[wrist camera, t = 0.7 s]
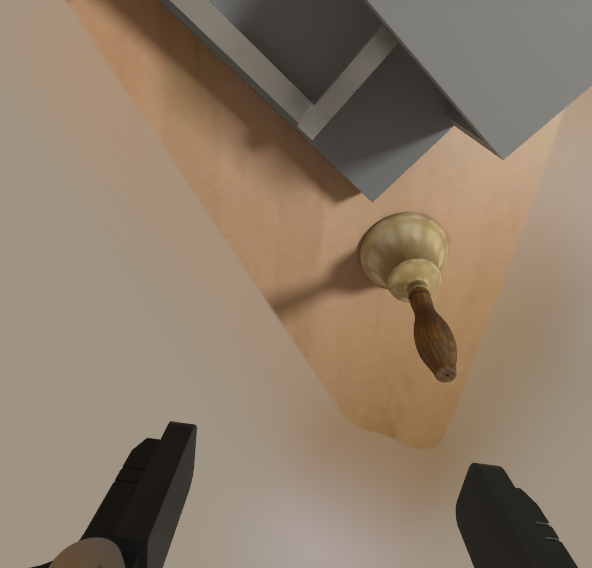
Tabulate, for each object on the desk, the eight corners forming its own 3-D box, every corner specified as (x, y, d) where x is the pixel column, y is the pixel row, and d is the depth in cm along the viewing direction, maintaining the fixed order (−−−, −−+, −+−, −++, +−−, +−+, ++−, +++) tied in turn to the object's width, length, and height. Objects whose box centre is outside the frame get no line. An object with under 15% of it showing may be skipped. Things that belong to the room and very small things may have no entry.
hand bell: (441, 287, 40) (503, 417, 27) (358, 289, 41) (378, 417, 27) (454, 210, 36) (535, 318, 22) (360, 213, 36) (384, 321, 23)
